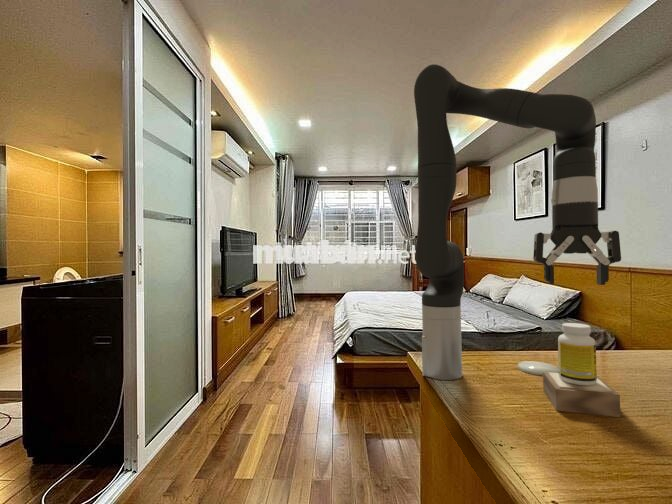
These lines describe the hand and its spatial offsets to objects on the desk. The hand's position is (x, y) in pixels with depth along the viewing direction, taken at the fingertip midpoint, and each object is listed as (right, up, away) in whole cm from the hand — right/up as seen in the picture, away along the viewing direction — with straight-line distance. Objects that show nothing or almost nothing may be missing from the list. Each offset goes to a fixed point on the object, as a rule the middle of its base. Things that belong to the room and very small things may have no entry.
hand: (575, 284), depth 69 cm
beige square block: (0, -23, 0) cm, 23 cm away
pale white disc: (+4, -24, +20) cm, 31 cm away
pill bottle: (0, -19, 0) cm, 19 cm away
